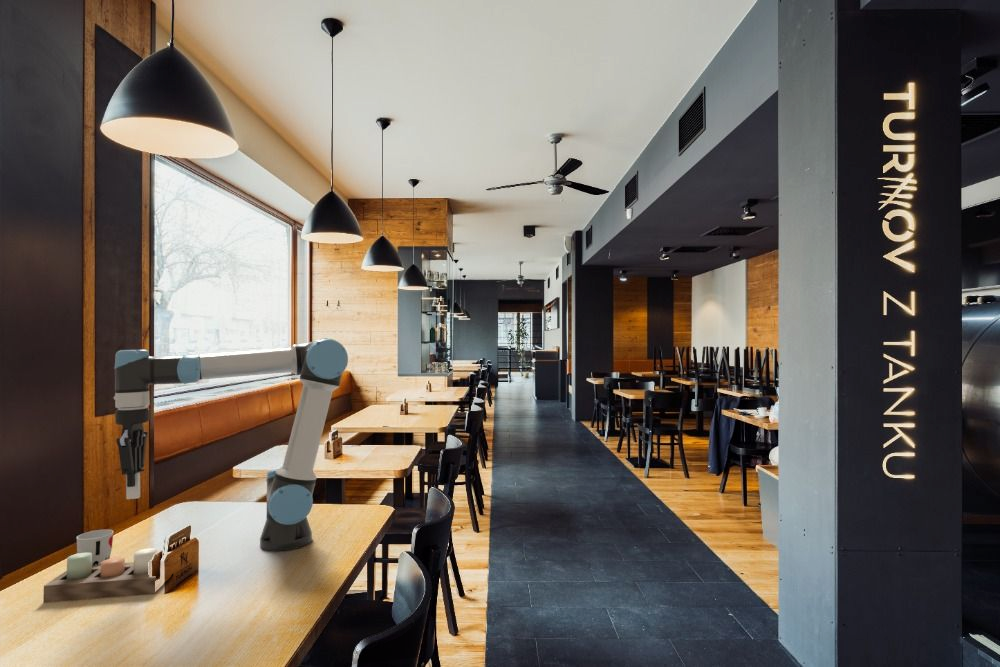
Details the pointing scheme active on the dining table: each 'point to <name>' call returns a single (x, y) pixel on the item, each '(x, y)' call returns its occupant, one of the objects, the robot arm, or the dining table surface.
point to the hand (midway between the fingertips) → (133, 498)
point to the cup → (96, 545)
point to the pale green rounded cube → (79, 565)
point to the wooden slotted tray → (99, 586)
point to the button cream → (143, 560)
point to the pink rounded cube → (112, 567)
